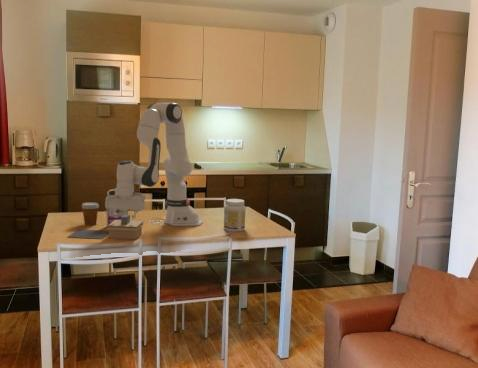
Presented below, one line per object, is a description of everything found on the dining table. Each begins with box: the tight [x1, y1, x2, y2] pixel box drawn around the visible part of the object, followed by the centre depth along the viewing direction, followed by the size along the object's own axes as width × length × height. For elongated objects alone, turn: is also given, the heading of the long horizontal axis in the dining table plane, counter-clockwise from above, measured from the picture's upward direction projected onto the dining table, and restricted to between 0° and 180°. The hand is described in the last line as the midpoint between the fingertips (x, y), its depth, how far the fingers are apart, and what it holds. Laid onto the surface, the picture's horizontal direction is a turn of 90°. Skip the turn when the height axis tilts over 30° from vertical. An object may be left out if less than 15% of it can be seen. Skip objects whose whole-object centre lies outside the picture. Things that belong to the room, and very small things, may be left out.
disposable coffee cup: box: [81, 201, 100, 227], centre depth 278 cm, size 10×10×12 cm
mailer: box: [108, 225, 143, 240], centre depth 257 cm, size 14×12×6 cm
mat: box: [67, 228, 109, 240], centre depth 258 cm, size 18×16×1 cm
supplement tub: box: [223, 198, 247, 233], centre depth 277 cm, size 12×12×17 cm
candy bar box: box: [106, 209, 129, 226], centre depth 275 cm, size 11×5×16 cm, turn 118°
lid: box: [106, 214, 144, 231], centre depth 256 cm, size 15×13×6 cm
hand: (124, 217), depth 255 cm, fingers open, 8 cm apart
